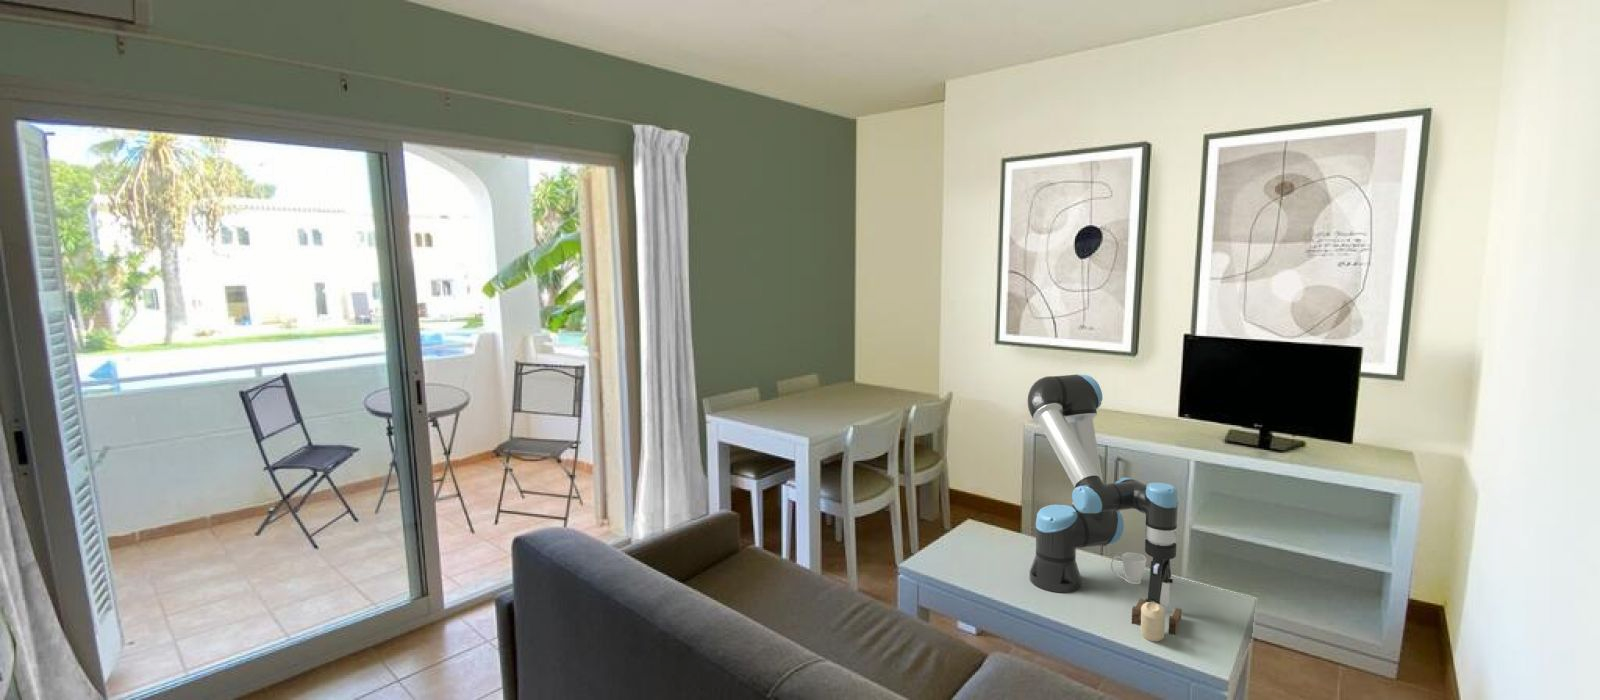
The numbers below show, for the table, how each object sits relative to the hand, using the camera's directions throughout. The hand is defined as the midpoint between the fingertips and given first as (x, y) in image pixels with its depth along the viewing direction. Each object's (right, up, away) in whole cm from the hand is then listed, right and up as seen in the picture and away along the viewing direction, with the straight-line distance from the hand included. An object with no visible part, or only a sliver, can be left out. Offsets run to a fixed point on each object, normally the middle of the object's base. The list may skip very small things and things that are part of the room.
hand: (1158, 614), depth 184 cm
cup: (+4, +1, +25) cm, 25 cm away
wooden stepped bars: (-1, -2, 0) cm, 2 cm away
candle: (-6, -2, -7) cm, 10 cm away
